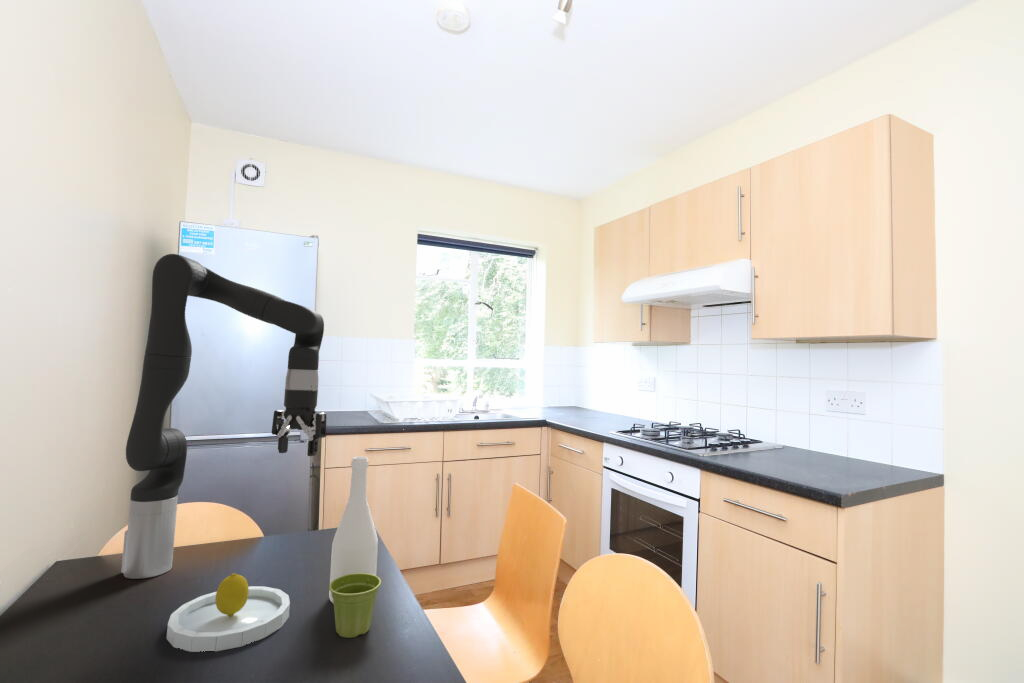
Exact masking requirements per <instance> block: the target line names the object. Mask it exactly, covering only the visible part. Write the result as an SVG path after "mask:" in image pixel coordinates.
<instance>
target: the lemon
mask: <svg viewBox="0 0 1024 683" xmlns="http://www.w3.org/2000/svg"><path fill="white" fill-rule="evenodd" d="M248 586H249V584H248V580H247V578H245V577H244V576H243V575H241V574H237V573H236V572H233V573H231V575H228V576H227V577H225V578H224V579H222V581H221V582H220V583H219V585H218V588H217V591H216V592H217V593H216V606H217V609H218V610H219V611H220V612H221V613H223V614H227V615H228V616H229V617H231V616H233V615H234V614H235V613H236V612H238V611H240V610H241V609H242V608H243V607H244V605H245V603H246V602H247V599H248V594H249V588H248Z"/></svg>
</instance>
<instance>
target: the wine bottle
mask: <svg viewBox="0 0 1024 683" xmlns="http://www.w3.org/2000/svg"><path fill="white" fill-rule="evenodd" d="M369 462H370V461H369V458H368V456H353V457H352V459H351V462H350V468H351V477H350V478H351V479H350V491H349V492H350V493H349V496H348V501H347V503H346V506H345V509H344V510H343V514H342V516H341V519H340V521H339V524H338V527H337V529H336V532H335V534H334V537H333V540H332V544H331V558H330V572H329V584H330V583H331V582H332V581H333V580H335V579H336V578H339V577H341V576H344V575H348V574H355V573H368V574H373V575H376V576H377V566H378V565H377V564H378V549H379V545H378V544H379V540H378V539H379V538H378V534H377V530H376V527H375V524H374V520H373V517H372V512H371V509H370V506H369V502H368V497H367V496H368V495H367V485H368V482H367V481H368V469H369V464H370V463H369ZM328 590H329V592H328V598H329V600H330V603H332V604H333V605H334V602H333V598H332V593H331V591H330V589H329V588H328Z"/></svg>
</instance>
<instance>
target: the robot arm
mask: <svg viewBox="0 0 1024 683" xmlns="http://www.w3.org/2000/svg"><path fill="white" fill-rule="evenodd" d="M151 277H152V279H151V280H152V281H151V309H150V311H151V312H150V317H149V318H150V319H149V325H148V335H147V341H146V346H145V351H144V356H143V363H142V371H141V372H142V374H141V380H140V387H139V393H138V396H137V403H136V408H135V411H134V415H133V419H132V423H131V426H130V430H129V433H128V436H127V441H126V445H125V446H126V447H125V459H126V462H127V464H128V466H129V467H130V468H131V469H132V470H133V471H135V472H147V471H148V474H146V476H145V477H144V478H142V480H141V481H140V482H138V483H136V484H135V485H133V487H132V489H131V491H130V498H129V499H130V500H129V509H128V521H127V530H125V532H124V535H123V536H124V537H123V546H122V557H121V558H122V560H121V570H120V573H121V574H123V576H124V578H126V579H130V580H131V579H132V580H133V579H148V578H153V577H157V576H161V575H163V574H166V573H167V572H169V571H170V570H172V568H173V559H174V558H173V556H174V550H175V549H174V548H175V535H176V534H175V533H176V524H177V514H178V513H177V511H178V500H179V498H178V496H179V490H180V487H181V485H182V484H183V481H184V476H185V469H186V462H187V454H188V442H187V439H186V436H185V434H184V433H183V432H182V431H181V430H179V429H178V428H173V427H171V428H170V427H169V428H163V427H164V422H165V421H164V420H165V417H166V414H167V411H168V408H170V405H171V404H172V402H173V401H174V399H175V398H176V397H177V395H178V394H179V392H180V391H181V389H182V388H183V386H184V385H185V383H186V381H187V380H188V378H189V374H190V368H191V362H192V361H191V360H192V356H193V355H192V354H193V348H192V342H191V341H192V340H191V338H190V337H191V336H190V333H189V330H188V329H189V328H188V326H187V321H186V320H187V319H186V306H187V302H188V297H195V298H200V299H205V300H208V301H209V300H210V301H213V302H217V303H219V304H222V305H225V306H227V307H229V308H231V309H232V310H233V309H234V310H236V311H237V312H239V313H241V314H243V315H246V316H248V317H251V318H254V319H255V320H259V321H261V322H263V323H267V324H271V325H274V326H276V327H279V328H281V329H283V330H286V331H288V332H290V333H292V334H295V336H294V342H293V343H294V344H293V346H292V347H290V349H289V352H288V358H287V371H286V376H285V385H284V386H285V387H284V395H283V397H284V398H283V406H284V407H285V410H284V409H281V410H280V409H277V410H274V411H273V416H272V417H273V418H272V427H271V434H272V435H274V436H277V437H278V439H277V441H278V442H277V451H278V453H279V454H286V453H288V448H289V435H290V433H291V432H292V431H294V430H298V431H303V433H305V434H306V436H307V438H308V439H309V440H308V442H307V456H308V457H314V456H316V454H317V453H318V447H319V446H318V444H319V440H321V439H323V438H326V437H327V413H325V412H319V413H316V408H317V405H318V394H319V393H318V392H319V365H320V364H319V363H320V361H319V360H320V355H319V354H320V350H321V346H322V341H323V337H324V332H325V321H324V318H323V316H322V315H321V313H319V312H318V311H317V310H314V309H311V308H310V307H306V306H303V305H301V304H298V303H295V302H292V301H289V300H288V301H287V300H285V299H283V298H282V297H279V296H277V295H275V294H272V293H269V292H266V291H264V290H261V289H258V288H255V287H251V286H248V285H245V284H241V283H238V282H236V281H232V280H230V279H228V278H225V277H223V276H222V275H220V274H218V273H216V272H214V271H212V270H211V269H209V268H208V267H206V266H204V265H202V264H201V263H199V262H198V261H197V260H194V259H191V258H189V257H186V256H184V255H182V254H177V253H176V254H175V253H168V254H166V255H163V256H162V257H160V258H159V259H158V260H157V261H156V262H155V266H154V268H153V271H152V276H151Z"/></svg>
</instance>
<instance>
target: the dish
mask: <svg viewBox="0 0 1024 683" xmlns="http://www.w3.org/2000/svg"><path fill="white" fill-rule="evenodd" d="M248 588H249V594H248V599H247V602H246V603H245V605H244V607H243V608H242V609H241V610H240V611H238V612H236V613H235V614H234V615H233V616H231V617H229V616H228V615H227V614H223V613H221V612H220V611H219V610H218V609H217V606H216V593H217V591H214V592H213V591H212V592H211V593H207V594H204V595H200V596H198V597H196V598H195V599H194V598H193V599H192V600H189V601H188V602H186V603H183V604H182V605H181V606H180V607H178V608H177V609H175V610H174V611H173V612H172V613H170V617H169V620H168V621H167V628H166V629H167V630H166V640H167V641H168V643H169V644H170V645H171V646H172V647H173V648H175V649H178V648H180V649H179V650H182V649H183V651H187V652H190V653H193V652H194V653H200V651H201V653H202V652H203V651H204V653H206V652H205V651H215V652H219V651H224V650H230V649H234V648H235V649H236V648H240V647H243V646H246V644H247V645H249V644H252V643H255V642H256V641H260V640H262V639H265V638H267V637H268V636H270V635H272V634H273V633H275V632H276V631H277V630H279V629H281V628H282V627H283V626H284V624H285V623H286V622H287V620H288V619H289V618H290V607H291V601H290V596H289V594H287V592H284V591H283V590H281V589H280V588H275V587H268V586H264V585H263V586H253V585H252V586H249V585H248ZM254 641H255V642H254ZM251 642H252V643H251Z"/></svg>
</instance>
